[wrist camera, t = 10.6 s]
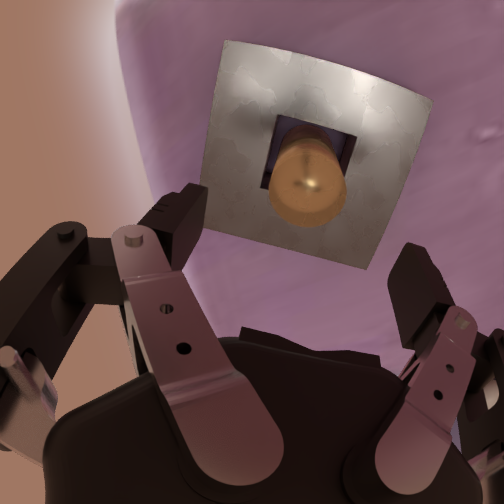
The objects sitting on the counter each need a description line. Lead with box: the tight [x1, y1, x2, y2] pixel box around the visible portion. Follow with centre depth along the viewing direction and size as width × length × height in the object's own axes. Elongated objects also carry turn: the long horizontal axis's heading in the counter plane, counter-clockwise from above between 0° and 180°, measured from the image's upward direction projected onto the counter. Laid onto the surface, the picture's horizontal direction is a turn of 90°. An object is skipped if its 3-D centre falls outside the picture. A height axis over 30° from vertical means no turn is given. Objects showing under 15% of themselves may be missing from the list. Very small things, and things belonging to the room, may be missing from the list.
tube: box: [483, 380, 499, 410], centre depth 38 cm, size 5×5×25 cm
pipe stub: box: [269, 125, 347, 227], centre depth 19 cm, size 4×4×9 cm
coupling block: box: [199, 40, 434, 270], centre depth 22 cm, size 14×14×4 cm
